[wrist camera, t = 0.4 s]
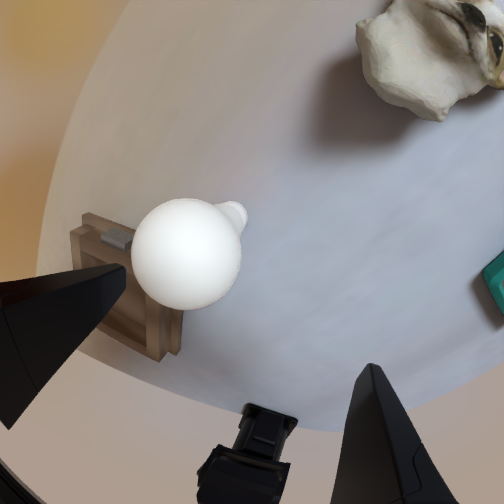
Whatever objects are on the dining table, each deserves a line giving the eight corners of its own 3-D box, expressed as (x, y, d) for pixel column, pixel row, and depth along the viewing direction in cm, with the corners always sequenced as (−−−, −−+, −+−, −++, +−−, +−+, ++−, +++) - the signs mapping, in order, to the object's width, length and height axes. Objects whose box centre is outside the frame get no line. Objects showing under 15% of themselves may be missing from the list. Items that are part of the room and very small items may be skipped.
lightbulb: (189, 191, 23) (91, 239, 14) (255, 163, 21) (175, 196, 11) (218, 258, 25) (144, 336, 15) (285, 238, 22) (236, 325, 13)
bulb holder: (180, 350, 31) (165, 369, 28) (95, 306, 34) (78, 320, 31) (189, 249, 25) (169, 266, 22) (88, 211, 28) (64, 221, 25)
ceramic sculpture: (291, -8, 8) (469, -84, 2) (307, 47, 16) (437, -32, 10) (458, 183, 10) (587, 58, 3) (407, 164, 17) (523, 71, 11)
